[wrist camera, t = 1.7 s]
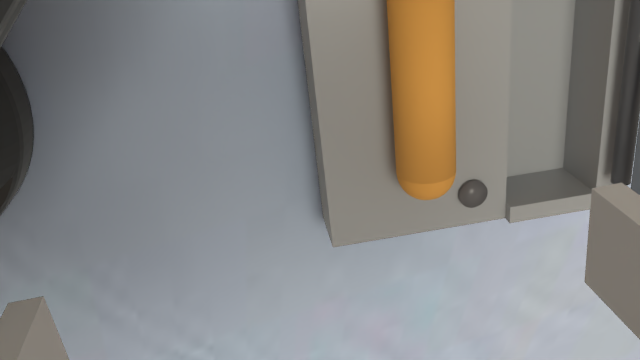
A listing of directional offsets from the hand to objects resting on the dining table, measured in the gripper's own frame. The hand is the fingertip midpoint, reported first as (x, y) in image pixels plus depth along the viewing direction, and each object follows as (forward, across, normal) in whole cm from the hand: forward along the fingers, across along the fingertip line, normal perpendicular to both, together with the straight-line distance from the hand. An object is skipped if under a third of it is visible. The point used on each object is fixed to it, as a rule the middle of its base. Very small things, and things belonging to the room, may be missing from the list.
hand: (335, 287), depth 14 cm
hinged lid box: (+20, +10, -1) cm, 23 cm away
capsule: (+15, +7, -1) cm, 17 cm away
